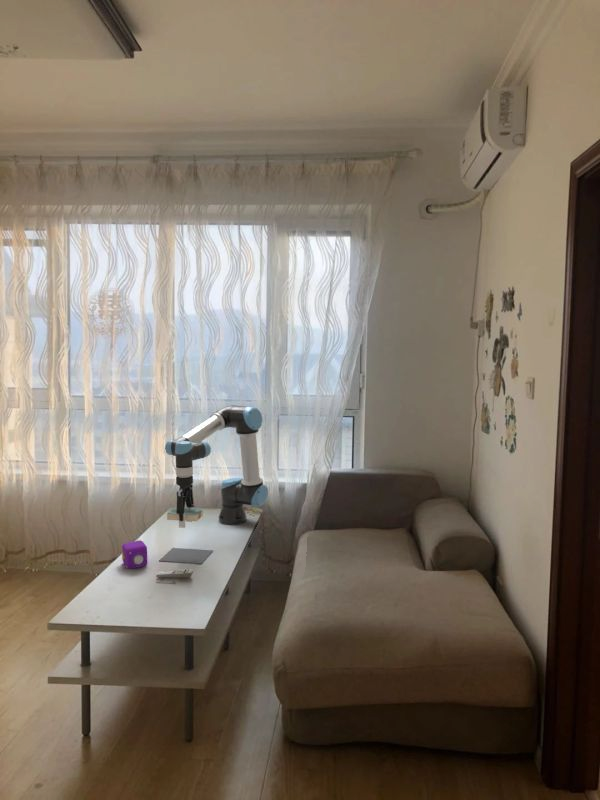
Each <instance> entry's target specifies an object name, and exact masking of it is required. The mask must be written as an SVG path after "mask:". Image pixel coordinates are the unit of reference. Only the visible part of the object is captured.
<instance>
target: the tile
mask: <svg viewBox="0 0 600 800" xmlns="http://www.w3.org/2000/svg"><path fill="white" fill-rule="evenodd" d="M176 511H177V507H173V508H172V509H171V510H170V511H169V510H168V512H167V513H166V518H167V519H166V520H167V521H168V520H169V521H179V514H177V513H176ZM203 511H204V510H203V509H201V508H199V509H198V508H192V509H186V508H185V509H184V513H185V522H187V521H192V522H198V521H199V520H200V519H201V518H202V517H203V516H204V515H203V514H204V512H203Z"/></svg>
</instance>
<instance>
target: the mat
mask: <svg viewBox="0 0 600 800" xmlns="http://www.w3.org/2000/svg"><path fill="white" fill-rule="evenodd" d="M213 552H214V550H213V549H200V548H199V549H198V548H197V549H196V548H180V547H172V548H171V549H170V550H168V552H166V553H165V554H164V555H163V556H162V557H161V558H160V559H159V560H158V562H160V563H175V564H188V565H189V564H190V565H203V563H204V562H205V561H206V560H207V559H208V558H207V557H210V555H211V554H212V553H213Z"/></svg>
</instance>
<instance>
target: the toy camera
mask: <svg viewBox="0 0 600 800" xmlns="http://www.w3.org/2000/svg"><path fill="white" fill-rule="evenodd" d="M121 558H122V559H121V560H122V562H123V564H124V566H125V568H127V569H135V568H141V567H144V566H145V567H146V566H147V565H148V547H147V545H146V544H145V542H144V541H142V540H141V539H137V540H134V541H130V542H129V541H128V542H124V543H122V545H121Z"/></svg>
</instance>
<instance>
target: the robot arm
mask: <svg viewBox="0 0 600 800" xmlns="http://www.w3.org/2000/svg"><path fill="white" fill-rule="evenodd" d="M262 425H263V416H262V412H261V411H260V409H258V408H257V407H254V406H251V405H250V406H248V405H247V406H246V405H227V406H224V407H222V408H220V409H218V410H216V411H215V412H214V413H212V414H211V415H210V416H209V418H208V419H206V420H205V421H203V422H202V423H200V424H198V425H197V426H196V427H194V428H192V429H191V430H190V431H187V432H186V433H185V434H183V435H182V436H180V437H178V438H177V439H169V440H168V441H166V443H165V447H164V449H165V453H166V454H167V455H169V456H173V457H175V468H174V470H175V476H176V477H175V483H176V486H179V490H177V491H176V508H177V511H176V513H177V514H179V520H178V528H181V529H182V528H183V529H185V528H186V522H193V521H185V513H184V509H193V508H195V505H194V504H195V503H194V494H193V493H194V492H193V488H194V487H193V483H194V476H193V475H194V466H193V462H194V461H197V460H200V459H205V458H208V457H209V455H211V451H212V450H211V446H210V444H209V443H208V442H207V441H205V439H207V438H208V437H210V436H212V435H213V434H214V433H216V432H217V431H222V430H224V429H225V428H233V429H235V433H236V434H237V435H238V436H239V445H240V454H241V466H242V477H243V478H242V477H232V478H227V479H224V480H223V481H221V487H220V489H221V490H220V491H221V508H220V512H219V515H218V522H219V521H220V522H221V524H223V523H224V524H223V525H239V524H242V523H245V522H246V521H247V513H246V511H245V507H244V505H246V506H252V507H261V506H263V505H264V504H265V503H266V501H267V499H268V495H269V488H268V486H266V485H265V484H264V482H263V481H264V480H263V478H261V477H260V467H259V455H258V445H257V443H258V441H257V434H258V433H259V430H260V428H261V427H262ZM185 506H186V507H185ZM220 522H219V523H220Z"/></svg>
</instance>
